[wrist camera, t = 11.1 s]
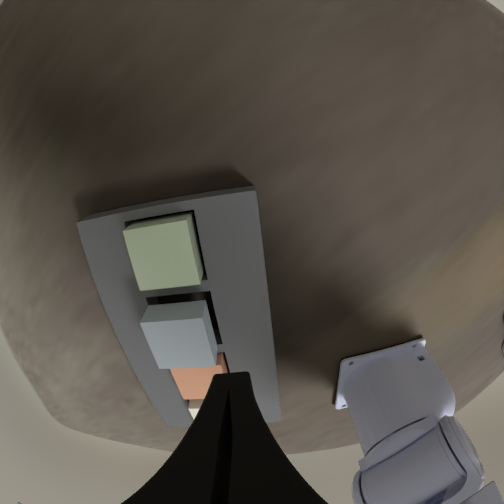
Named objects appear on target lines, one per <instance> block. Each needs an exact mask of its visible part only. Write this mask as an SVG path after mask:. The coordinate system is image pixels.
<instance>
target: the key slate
mask: <svg viewBox="0 0 504 504" xmlns="http://www.w3.org/2000/svg"><path fill="white" fill-rule="evenodd" d="M140 324H141V327H142V329H143V332H144V334H145V337H146V339H147V342H148V344H149V346H150V349H151V351H152V353H153V356H154V358H155V360H156V362H157V365H158V367H159V369H172V368H196V367H212V366H216V359H217V343H216V339H215V335H214V331H213V327H212V324H211V320H210V315H209V311H208V307H207V303H206V300H200V301H191V302H181V303H170V304H159V305H148V307H147V309H146V311H145V313H144V315H143V317H142V319H141V321H140Z"/></svg>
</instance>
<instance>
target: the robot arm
mask: <svg viewBox="0 0 504 504" xmlns="http://www.w3.org/2000/svg"><path fill="white" fill-rule="evenodd" d="M425 343H426V340H425V339H424V338H420V339H417V340H414V341H411V342H408V343H404V344H401V345H397V346H394V347H390V348H387V349H383V350H379V351H375V352H371V353H367V354H363V355H359V356H355V357H350V358H346V359H343V360H342V361H341V363H340V371H339V379H338V386H337V394H336V401H335V408H336V409H342V408H346V407H348V410H349V413H350V415H351V418H352V421H353V424H354V427H355V430H356V433H357V436H358V439H359V442H360V445H361V448H362V451H363V453H364V458H363V459H361V460H359V461H358V462H359V466H360V469H361V470H359V471H358V472H357V473H356V474H355V476H354V479H353V483H352V497H353V501H354V504H504V501H503V499H502V497H501V495H500V492H499V490H498V488H497V486H496V484H495V482H494V481H491V482H490V483H489V484H487V485H486V486H485V487H483V488H482V489H481V487H482V485H483V483H484V475H485V472H484V468H483V465H482V463H481V461H480V459H479V456H478V454H477V451H476V449H475V447H474V445H473V443H472V442H471V440H470V438H469V436H468V435H467V433H466V432H465V430H464V429H463V427H462V426H461V424H460V423H459V422H458V420H457V419H456V418H455V417H453V413H454V410H455V396H454V392H453V389H452V386H451V384H450V382H449V380H448V379H447V378H446V376H445V375H444V373H443V372H442V370H441V369H440V368H439V366H438V365H437V363H436V362H435V361H434V359H433V358H432V357H431V355H430V354H429V352H428V351H427V350H426V348H425V347H424V346H425ZM18 504H21V503H20V502H18ZM121 504H328V503H327V502H326V501H325V500H323V498H321V497H320V496H319V495H318V494H317V493H316V492H315V490H314V489H312V487H311V486H310V485H309V484H308V483H307V482H306V481H305V480H304V478H303V477H302V476H301V475H300V474H299V472H298V471H297V470H296V469H295V467H294V466H293V465H292V464H291V462H290V461H289V460H288V458H287V457H286V455H285V454H284V453H283V451H282V449H281V448H280V446H279V445H278V443H277V442H276V440H275V438H274V437H273V435H272V433H271V431H270V430H269V428H268V426H267V424H266V422H265V420H264V418H263V416H262V413H261V411H260V409H259V407H258V404H257V402H256V399H255V396H254V391H253V386H252V381H251V376H250V373H249V372H247V371H243V372H232V373H220V374H215V375H214V376H213V378H212V381H211V384H210V386H209V389H208V391H207V394H206V396H205V398H204V400H203V403H202V405H201V407H200V409H199V411H198V413H197V415H196V417H195V419H194V421H193V422H192V424H191V426H190V427H189V429H188V431H187V433H186V434H185V436H184V437H183V439H182V441H181V442H180V444H179V445H178V446H177V448H176V449H175V451H174V452H173V453H172V455H171V456H170V457H169V458H168V460H167V461H166V462H165V463H164V465H163V466H162V467H161V468H160V469H159V470H158V471H157V473H156V474H155V475H154V476H153V477H152V478H151V479H150V480H149V481H148V482H146V483H145V485H143V486H142V487H141V488H140V489H139V490H138V491H137V492H136V493H134V494H133V495H132V496H131V497H130V498H128V499H127V500H125V501H124V502H123V503H121Z"/></svg>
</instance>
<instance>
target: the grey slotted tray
mask: <svg viewBox="0 0 504 504" xmlns="http://www.w3.org/2000/svg"><path fill="white" fill-rule="evenodd" d="M188 210H194V212H195V218H196V223H197V229H198V234H199V239H200V244H201V249H202V254H203V259H204V264H205V267H204V272H203V276H202V280H201V284H199V285H191V286H182V287H173V288H163V289H154V290H144V291H140V289H139V286H138V283H137V280H136V277H135V273H134V270H133V267H132V263H131V260H130V257H129V253H128V249H127V246H126V242H125V238H124V235H123V230H124V229H126V228H127V227H128V226H129V225H130V224H132V223H133V222H134V221H136V219H141V218H147V217H152V216H158V215H164V214H169V213H175V212H181V211H188ZM76 224H77V228H78V231H79V235H80V238H81V242H82V245H83V249H84V252H85V255H86V258H87V261H88V264H89V267H90V270H91V273H92V276H93V279H94V282H95V284H96V287H97V290H98V292H99V295H100V298H101V300H102V303H103V305H104V308H105V310H106V313H107V315H108V317H109V320H110V322H111V324H112V327H113V329H114V331H115V333H116V336H117V338H118V340H119V342H120V344H121V346H122V348H123V351H124V353H125V355H126V357H127V359H128V361H129V363H130V365H131V366H132V368H133V370H134V372H135V374H136V376H137V378H138V380H139V382H140V383H141V385H142V387H143V389H144V390H145V392H146V394H147V396H148V397H149V399H150V401H151V402H152V404H153V406H154V407H155V409H156V411H157V412H158V414H159V416H160V417H161V419H162V420H163V422H164V423H165V425H166V426H168V427H190V426H191V424H192V422H193V421H194V419H193V417H192V415H191V413H190V411H189V409H188V407H189V401H190V399H183V397H182V395H181V393H180V391H179V388H178V386H177V384H176V382H175V380H174V377H173V375H172V373H171V371H170V369H159V367H158V365H157V362H156V360H155V358H154V356H153V353H152V351H151V349H150V346H149V344H148V342H147V339H146V337H145V334H144V332H143V329H142V327H141V324H140V321H141V319H142V317H143V315H144V313H145V311H146V309H147V307H148V305H159V301H158V298H157V296H166V295H175V294H185V293H194V292H203V291H210V292H211V296H212V301H213V305H214V310H215V314H216V318H217V322H218V327H219V329H213V331H214V335H215V339H216V343H217V353H219V352H225V355H226V359H227V363H228V367H229V371H230V373H232V372H243V371H247V372H249V373H250V376H251V381H252V386H253V391H254V396H255V399H256V402H257V404H258V407H259V409H260V411H261V413H262V416H263V418H264V420H265V422H266V423H269V422H277V421H282V420H281V410H280V399H279V389H278V380H277V370H276V360H275V351H274V341H273V332H272V323H271V313H270V304H269V295H268V287H267V278H266V269H265V260H264V252H263V243H262V235H261V226H260V218H259V210H258V201H257V193H256V189H255V186H254V185H253V186H245V187H238V188H231V189H224V190H217V191H210V192H204V193H198V194H191V195H185V196H180V197H174V198H168V199H163V200H157V201H152V202H147V203H142V204H137V205H132V206H127V207H123V208H118V209H113V210H109V211H104V212H100V213H96V214H91V215H89V216H87V217H85V218H83V219H82V220H80V221H78V222H77V223H76Z"/></svg>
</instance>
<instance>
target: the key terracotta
mask: <svg viewBox="0 0 504 504" xmlns="http://www.w3.org/2000/svg"><path fill="white" fill-rule="evenodd" d="M170 371H171V373H172V375H173V377H174V380H175V382H176V384H177V386H178V388H179V391H180V393H181V395H182V397H183V399H204V398H205V396H206V394H207V391H208V389H209V386H210V384H211V381H212V378H213V376H214V375H215V374H220V373H229V372H228V368H227V365H226V361H225V357H224V353H223V352H219V353H217V359H216V366H212V367H196V368H172V369H170Z"/></svg>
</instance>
